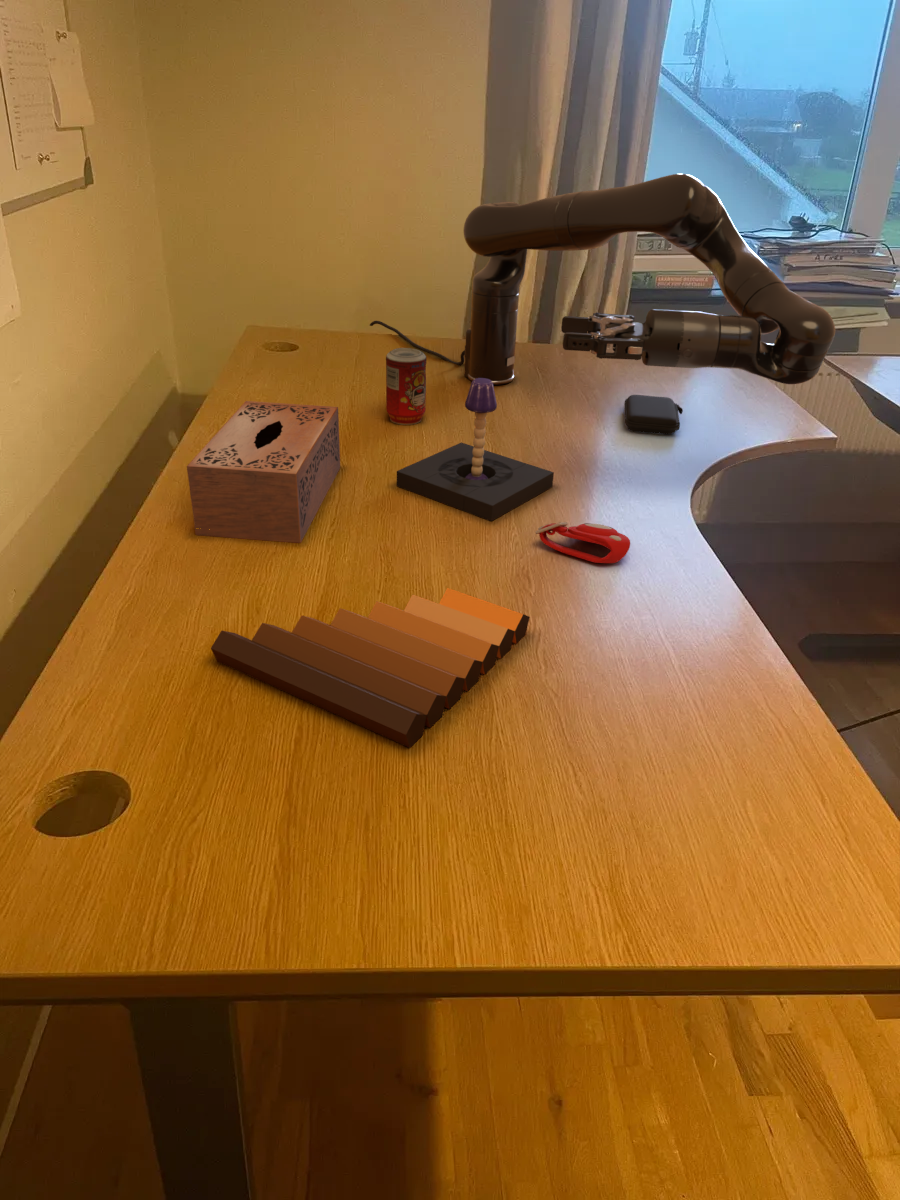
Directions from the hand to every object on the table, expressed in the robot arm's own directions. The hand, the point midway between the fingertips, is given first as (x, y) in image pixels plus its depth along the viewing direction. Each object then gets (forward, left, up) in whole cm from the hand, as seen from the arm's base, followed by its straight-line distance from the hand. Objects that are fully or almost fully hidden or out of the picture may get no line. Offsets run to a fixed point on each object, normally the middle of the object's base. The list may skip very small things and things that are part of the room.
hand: (562, 332), depth 123 cm
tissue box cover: (-29, -30, -24) cm, 48 cm away
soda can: (-36, +9, -24) cm, 44 cm away
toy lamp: (-9, -6, -24) cm, 27 cm away
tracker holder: (+14, -12, -24) cm, 30 cm away
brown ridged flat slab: (+9, -48, -24) cm, 55 cm away
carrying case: (-2, +39, -24) cm, 46 cm away
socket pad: (-9, -6, -24) cm, 26 cm away
